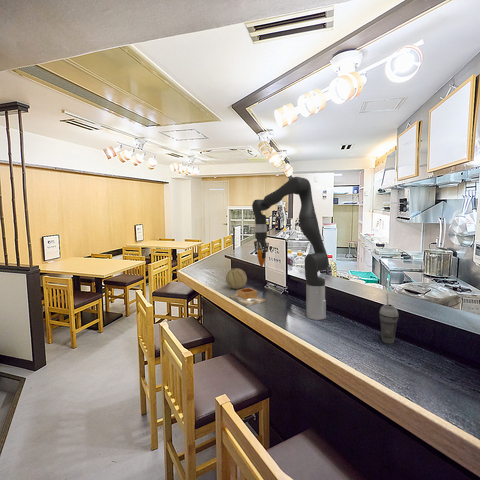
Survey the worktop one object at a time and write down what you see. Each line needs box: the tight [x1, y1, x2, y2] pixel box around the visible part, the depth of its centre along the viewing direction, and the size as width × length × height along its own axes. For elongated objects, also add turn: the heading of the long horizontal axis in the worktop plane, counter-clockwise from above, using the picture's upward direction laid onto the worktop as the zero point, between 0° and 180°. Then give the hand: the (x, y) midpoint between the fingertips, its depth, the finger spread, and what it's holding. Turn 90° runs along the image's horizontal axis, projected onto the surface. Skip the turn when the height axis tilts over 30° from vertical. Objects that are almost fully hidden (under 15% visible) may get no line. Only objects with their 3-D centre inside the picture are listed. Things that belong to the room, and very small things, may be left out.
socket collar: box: [236, 287, 258, 301], centre depth 175 cm, size 13×13×5 cm
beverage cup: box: [378, 293, 399, 344], centre depth 116 cm, size 7×7×20 cm
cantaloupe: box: [225, 267, 248, 290], centre depth 199 cm, size 15×15×15 cm
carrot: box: [257, 245, 266, 268], centre depth 178 cm, size 5×5×15 cm
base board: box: [229, 293, 267, 307], centre depth 175 cm, size 14×20×1 cm
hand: (261, 257), depth 178 cm, fingers closed on carrot, 4 cm apart
